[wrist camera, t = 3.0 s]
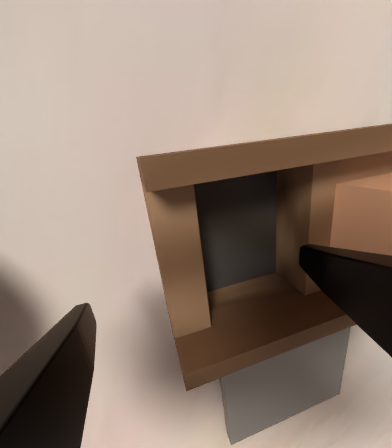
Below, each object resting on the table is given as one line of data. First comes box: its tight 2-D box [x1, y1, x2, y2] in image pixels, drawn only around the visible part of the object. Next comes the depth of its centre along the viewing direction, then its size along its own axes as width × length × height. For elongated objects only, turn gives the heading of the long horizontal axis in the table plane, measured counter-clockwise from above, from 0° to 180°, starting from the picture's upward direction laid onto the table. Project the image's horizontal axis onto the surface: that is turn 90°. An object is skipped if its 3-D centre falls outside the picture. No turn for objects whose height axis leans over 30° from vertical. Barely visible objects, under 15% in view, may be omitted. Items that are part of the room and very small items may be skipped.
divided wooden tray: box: [136, 124, 392, 391], centre depth 13 cm, size 10×25×5 cm, turn 97°
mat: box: [220, 327, 350, 445], centre depth 19 cm, size 12×12×1 cm
